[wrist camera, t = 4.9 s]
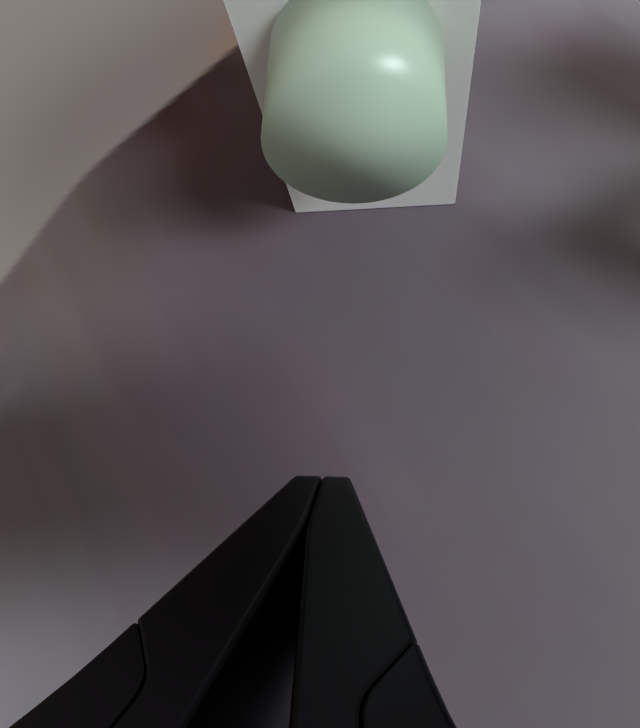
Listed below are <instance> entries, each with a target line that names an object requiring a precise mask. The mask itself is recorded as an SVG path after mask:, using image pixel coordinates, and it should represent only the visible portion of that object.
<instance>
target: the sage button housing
mask: <svg viewBox="0 0 640 728" xmlns="http://www.w3.org/2000/svg"><path fill="white" fill-rule="evenodd" d="M223 1H224V4H225V7H226V10H227V12H228V15H229V18H230V21H231V24H232V27H233V30H234V33H235V36H236V39H237V42H238V45H239V48H240V51H241V54H242V57H243V59H244V62H245V65H246V68H247V71H248V74H249V77H250V80H251V83H252V86H253V89H254V92H255V95H256V98H257V101H258V103H259V106H260V109H261V112H262V115H263V108H264V98H265V88H266V77H267V67H268V56H269V46H270V37H271V33H272V29H273V26H274V24H275V21H276V19H277V17H278V15H279V14H280V12H281V10H282V9H283V7H284V6H285V5H286V4H287V3H288V1H289V0H223ZM427 1H428V2H429V4H430V5H431V6H432V8H433V9H434V11H435V13H436V14H437V16H438V18H439V21H440V24H441V27H442V30H443V36H444V52H445V78H446V104H447V130H448V142H447V147H446V151H445V154H444V157H443V159H442V161H441V162H440V164H439V166H438V167H437V168H436V170H435V171H434V172H433V173H432V174H431V175H430V176H429V177H428V178H427V179H426V180H425V181H423V182H422V183H421V184H419V185H418V186H416V187H415V188H413V189H411V190H410V191H407V192H405V193H403V194H401V195H398V196H395V197H393V198H389V199H386V200H382V201H376V202H370V203H354V204H350V203H337V202H330V201H326V200H321V199H318V198H315V197H311V196H309V195H306V194H304V193H302V192H300V191H298V190H296V189H294V188H292V187H291V186H289V185H288V184H287V183H286V186H287V188H288V191H289V194H290V197H291V200H292V203H293V206H294V209H295V212H296V213H297V212H315V211H333V210H351V209H369V208H387V207H406V206H424V205H442V204H455V200H456V192H457V185H458V177H459V169H460V161H461V154H462V146H463V138H464V130H465V123H466V115H467V107H468V99H469V92H470V84H471V76H472V68H473V60H474V53H475V45H476V37H477V29H478V22H479V14H480V6H481V0H427Z"/></svg>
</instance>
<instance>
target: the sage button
mask: <svg viewBox="0 0 640 728" xmlns="http://www.w3.org/2000/svg"><path fill="white" fill-rule="evenodd" d="M447 142H448V130H447V104H446V78H445V52H444V36H443V30H442V27H441V24H440V21H439V18H438V16H437V14H436V13H435V11H434V9H433V8H432V6H431V5H430V4H429V2H428V1H427V0H289V1H288V3H287V4H286V5H285V6H284V7H283V9H282V10H281V12H280V14H279V15H278V17H277V19H276V21H275V24H274V26H273V29H272V33H271V37H270V46H269V56H268V67H267V77H266V88H265V98H264V108H263V119H262V129H261V147H262V151H263V154H264V157H265V159H266V161H267V163H268V164H269V166H270V167H271V169H272V170H273V171H274V172H275V174H276V175H277V176H278V177H279V178H280V179H282V180H283V181H284V182H285V183H287V184H288V185H289V186H291V187H292V188H294V189H296V190H298V191H300V192H302V193H304V194H306V195H309V196H311V197H315V198H318V199H321V200H326V201H330V202H337V203H350V204H354V203H370V202H376V201H382V200H386V199H389V198H393V197H395V196H398V195H401V194H403V193H405V192H407V191H410V190H411V189H413V188H415V187H416V186H418V185H419V184H421V183H422V182H423V181H425V180H426V179H427V178H428V177H429V176H430V175H431V174H432V173H433V172H434V171H435V170H436V168H437V167H438V166H439V164H440V162H441V161H442V159H443V157H444V154H445V151H446V147H447Z"/></svg>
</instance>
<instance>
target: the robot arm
mask: <svg viewBox="0 0 640 728" xmlns="http://www.w3.org/2000/svg"><path fill="white" fill-rule="evenodd" d="M9 728H457V727H456V726H455V724H454V722H453V720H452V718H451V716H450V714H449V712H448V710H447V708H446V706H445V704H444V701H443V699H442V697H441V695H440V693H439V690H438V688H437V686H436V684H435V682H434V679H433V677H432V675H431V673H430V671H429V668H428V666H427V663H426V661H425V658H424V656H423V654H422V651H421V649H420V646H419V645H418V644H417V640H416V637H415V635H414V633H413V630H412V628H411V625H410V623H409V620H408V618H407V616H406V613H405V611H404V608H403V606H402V604H401V601H400V599H399V596H398V594H397V591H396V589H395V587H394V584H393V582H392V579H391V577H390V574H389V572H388V570H387V567H386V565H385V562H384V560H383V557H382V555H381V553H380V550H379V548H378V545H377V543H376V540H375V538H374V536H373V533H372V531H371V528H370V526H369V523H368V521H367V519H366V516H365V514H364V511H363V509H362V506H361V504H360V502H359V499H358V497H357V494H356V492H355V489H354V487H353V485H352V482H351V480H350V479H349V478H348V477H330V476H327V477H324V478H323V479H321V478H320V477H319V476H296V477H294V478H293V479H291V480H290V481H289V482H288V483H287V484H286V485H285V486H284V487H283V488H282V489H281V490H279V491H278V492H277V493H276V494H275V495H274V496H273V497H272V498H271V499H270V500H268V501H267V502H266V503H265V504H264V505H263V506H262V507H261V508H260V509H259V510H257V511H256V512H255V513H254V514H253V515H252V516H251V517H250V518H249V519H248V520H246V521H245V522H244V523H243V524H242V525H241V526H240V527H239V528H238V529H237V530H236V531H234V532H233V533H232V534H231V535H230V536H229V537H228V538H227V539H226V540H225V541H223V542H222V543H221V544H220V545H219V546H218V547H217V548H216V549H215V550H214V551H212V552H211V553H210V554H209V555H208V556H207V557H206V558H205V559H204V560H203V561H202V562H200V563H199V564H198V565H197V566H196V567H195V568H194V569H193V570H192V571H191V572H189V573H188V574H187V575H186V576H185V577H184V578H183V579H182V580H181V581H180V582H178V583H177V584H176V585H175V586H174V587H173V588H172V589H171V590H170V591H169V592H167V593H166V594H165V595H164V596H163V597H162V598H161V599H160V600H159V601H158V602H157V603H155V604H154V605H153V606H152V607H151V608H150V609H149V610H148V611H147V612H146V613H144V614H143V615H142V616H141V617H140V618H139V619H138V624H136V623H134V624H132V625H131V626H130V627H129V628H128V629H127V630H125V631H124V632H123V633H122V634H121V635H120V636H119V637H118V638H117V639H116V640H114V641H113V642H112V643H111V644H110V645H109V646H108V647H107V648H105V649H104V650H103V651H102V652H101V653H100V654H99V655H97V656H96V657H95V658H94V659H93V660H92V661H91V662H89V663H88V664H87V665H86V666H85V667H84V668H83V669H81V670H80V671H79V672H78V673H77V674H76V675H74V676H73V677H72V678H71V679H70V680H68V681H67V682H66V683H65V684H63V685H62V686H61V687H60V688H58V689H57V690H56V691H55V692H53V693H52V694H51V695H50V696H48V697H47V698H46V699H45V700H43V701H42V702H41V703H40V704H38V705H37V706H36V707H35V708H34V709H32V710H31V711H30V712H29V713H27V714H26V715H25V716H23V717H22V718H21V719H19V720H18V721H17V722H16V723H14V724H13V725H12V726H10V727H9Z"/></svg>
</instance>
